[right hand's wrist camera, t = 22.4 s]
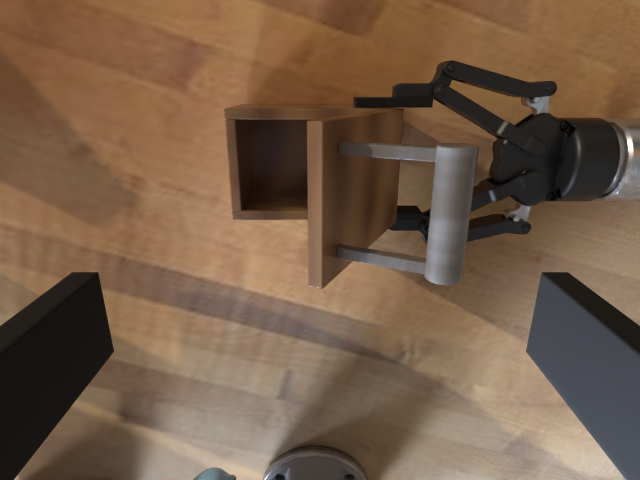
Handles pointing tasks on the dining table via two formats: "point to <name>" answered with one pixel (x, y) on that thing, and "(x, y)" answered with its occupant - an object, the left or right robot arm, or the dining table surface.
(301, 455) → the left robot arm
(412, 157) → the lid
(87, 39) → the dining table surface
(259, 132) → the brown wooden cabinet
